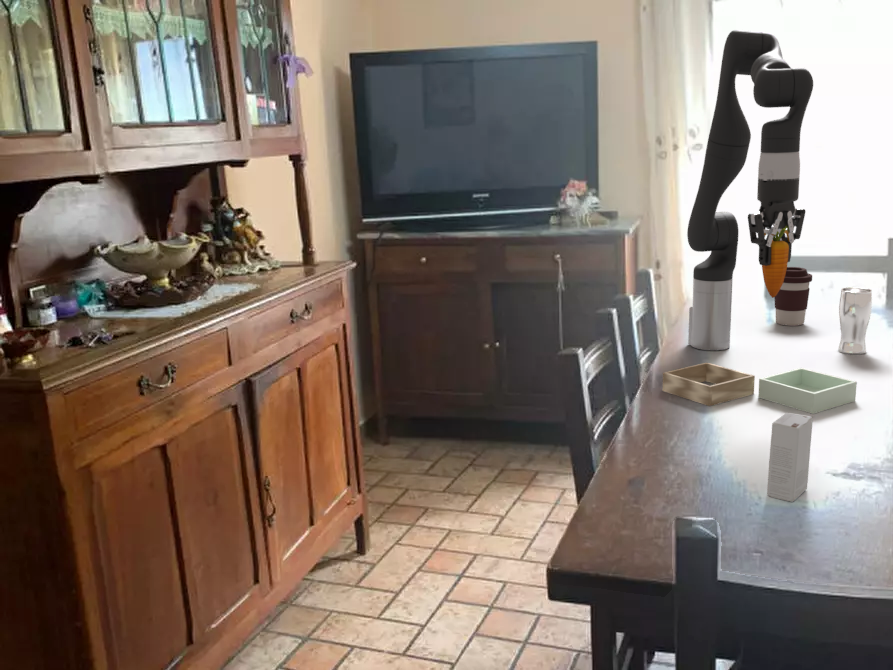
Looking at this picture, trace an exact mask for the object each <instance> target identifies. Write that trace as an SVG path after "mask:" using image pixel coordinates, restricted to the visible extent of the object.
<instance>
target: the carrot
mask: <svg viewBox="0 0 893 670" xmlns="http://www.w3.org/2000/svg"><path fill="white" fill-rule="evenodd" d="M786 229H787V225H786V226H785V228H783V229H781V231H780V233H779V232H778V231H777V233H776V235H774V236H773V239H772V243H771V246H769V247H771V264H770V265H768V266H765V265H761V269H762V276H763V281H764V285H765V288H766V290H767V292H768V294H769V296H770V297H771V298H774V299H775V296H776V295H777V293H778V292H779V290H780V288H781V286H782V284H783V281H784V278H785V274H786V270H787V267H788V263H789V262H788V253H789V245H788V244H787V243H786V242H785V241H781V240H780V239H781V237H782V235H783V233H784V232H785V231H786ZM768 230H770V229H768Z"/></svg>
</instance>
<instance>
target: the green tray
mask: <svg viewBox="0 0 893 670" xmlns="http://www.w3.org/2000/svg"><path fill="white" fill-rule="evenodd" d="M857 383H858V382H857V381H855V380H852V379H847V378H844V377H839V376H835V375H831V374H827V373H823V372H820V371H815V370H811V369H808V368H802V367H799V368H795V369H791V370H788V371H784V372H779V373H776V374H771V375H768V376H765V377H764V376H763V377H761V378H759V379H758V396H757V397H758V398H759V399H763V400H766V401H769V402H772V403H775V404H776V403H777V404H778V405H783V406H784V407H785V406H786V407H788V408H789V407H790V408H792V409H796V410H799V411H803V412H806V413H810V414H812V415H814V414H817V413H820V412H823V411H826V410H830V409H832V408H836V407H840V406H843V405H846V404H849V403H854V402H856V397H857V396H856V394H857Z"/></svg>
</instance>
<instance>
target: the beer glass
mask: <svg viewBox="0 0 893 670" xmlns="http://www.w3.org/2000/svg"><path fill="white" fill-rule="evenodd" d="M840 291H841V292H840V298H839V306H838V315H839V317H838V318H839V326H840V341H839V346H838V349H837V350H838V352H839V353H841V354H846V355H863V354H866V353H867V347H866V334H867V330H868V328H869V323H870V319H871V316H872V315H871V314H872V307H873V306H872V305H873V297H872V292H873V291H872V289H870V288H865V287H859V286H858V287H854V286H852V287H848V286H847V287H842V288H841V290H840Z"/></svg>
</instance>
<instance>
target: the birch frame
mask: <svg viewBox="0 0 893 670" xmlns="http://www.w3.org/2000/svg"><path fill="white" fill-rule="evenodd" d="M755 377H756V375H754V374H751V373H747V372H742V371H740V370H736V369H733V368H728V367H725V366H721V365H717V364H714V363H710V362H702V363H699V364H694V365H689V366H686V367H682V368H677V369H673V370H669V371H664V372H662V392H664V393H667V394H672V395H673V396H677V397H680V398H682V399H683V398H684V399H687V400H689V401H692V402H696V403H699V404H701V405H704V406H707V407H711V406H715V405H719V404H723V403H726V402H730V401H733V400H738V399H741V398H745V397H748V396H753V395H755V379H756V378H755ZM704 382H708V383H711V385H708V384H706V383H704Z"/></svg>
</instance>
